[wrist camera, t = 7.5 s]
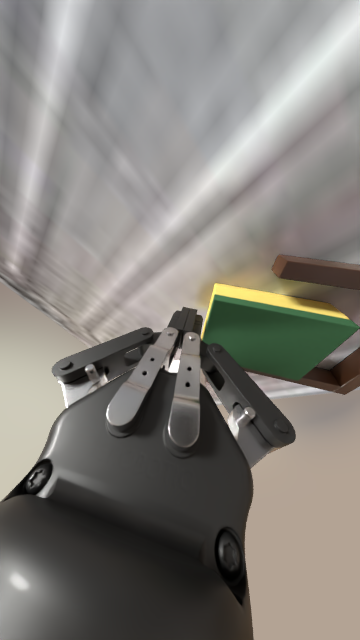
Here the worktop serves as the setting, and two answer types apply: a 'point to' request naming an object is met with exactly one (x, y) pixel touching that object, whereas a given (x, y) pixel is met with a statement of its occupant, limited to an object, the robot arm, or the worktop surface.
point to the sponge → (274, 330)
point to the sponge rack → (356, 366)
